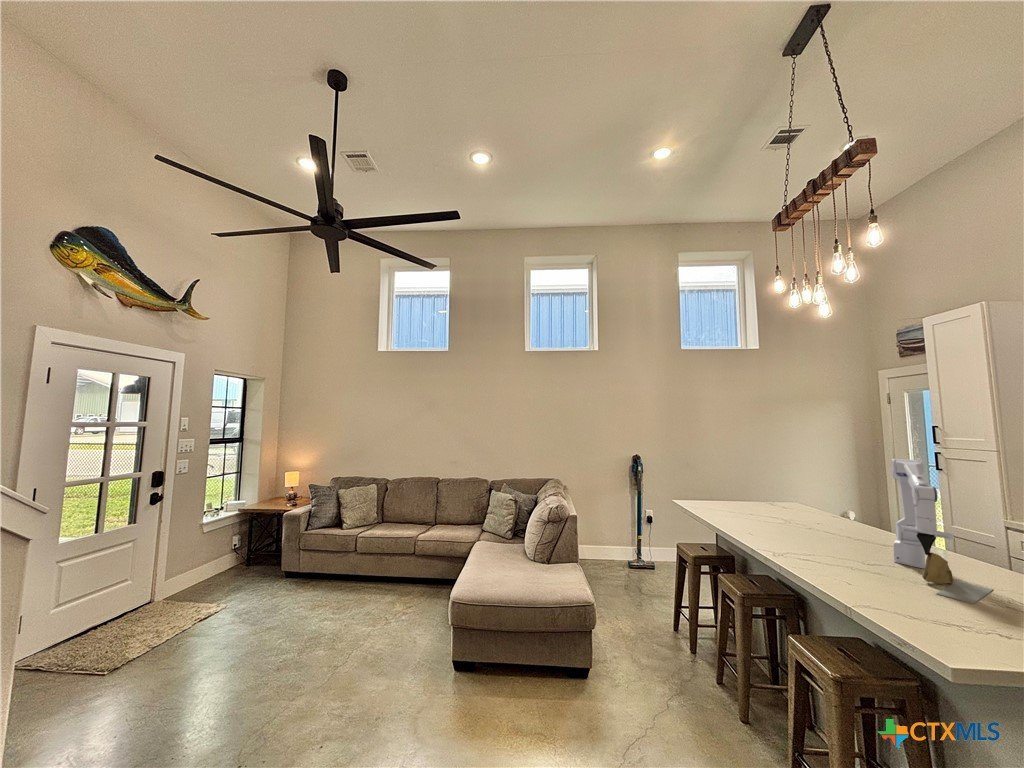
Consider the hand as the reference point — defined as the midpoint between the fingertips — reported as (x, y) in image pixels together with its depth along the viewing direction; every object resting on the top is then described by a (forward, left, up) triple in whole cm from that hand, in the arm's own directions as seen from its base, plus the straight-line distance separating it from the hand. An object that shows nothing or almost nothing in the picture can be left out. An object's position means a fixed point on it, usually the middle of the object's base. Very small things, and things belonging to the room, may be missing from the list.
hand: (927, 554), depth 161 cm
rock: (+2, +1, -9) cm, 10 cm away
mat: (+10, -1, -10) cm, 14 cm away
